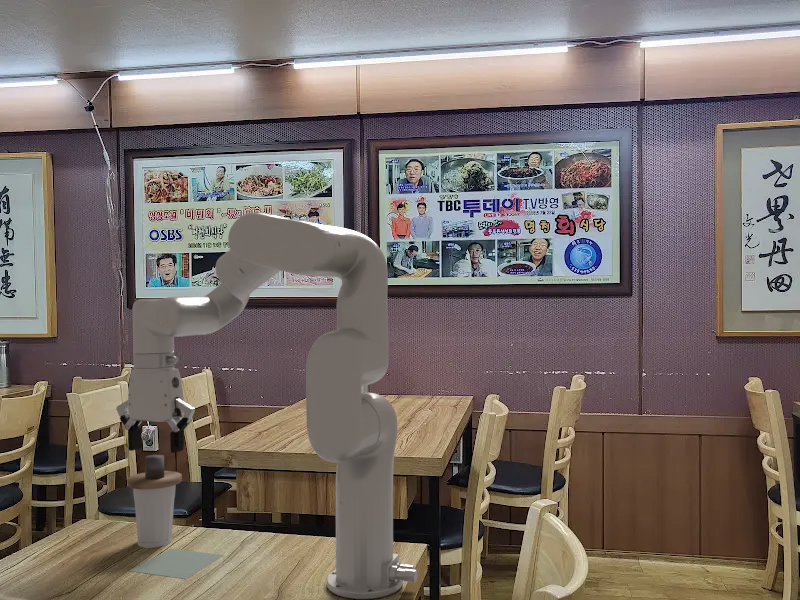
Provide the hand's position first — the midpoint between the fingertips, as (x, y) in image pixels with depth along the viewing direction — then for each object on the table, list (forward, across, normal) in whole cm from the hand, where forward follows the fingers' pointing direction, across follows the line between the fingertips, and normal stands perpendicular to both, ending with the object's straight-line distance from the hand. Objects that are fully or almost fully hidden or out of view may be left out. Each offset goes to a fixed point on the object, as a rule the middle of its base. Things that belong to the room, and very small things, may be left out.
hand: (155, 450), depth 137 cm
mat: (+18, -10, +8) cm, 23 cm away
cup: (+18, +1, 0) cm, 18 cm away
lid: (+6, 0, 0) cm, 6 cm away
